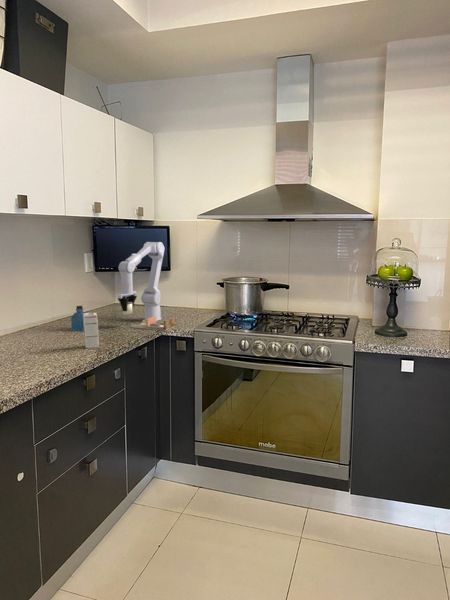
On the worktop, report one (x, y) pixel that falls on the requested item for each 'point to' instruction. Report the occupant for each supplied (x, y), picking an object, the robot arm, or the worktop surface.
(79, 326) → the perfume bottle
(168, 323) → the lane
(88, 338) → the syrup box
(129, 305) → the jar
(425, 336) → the worktop surface
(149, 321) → the pusher
